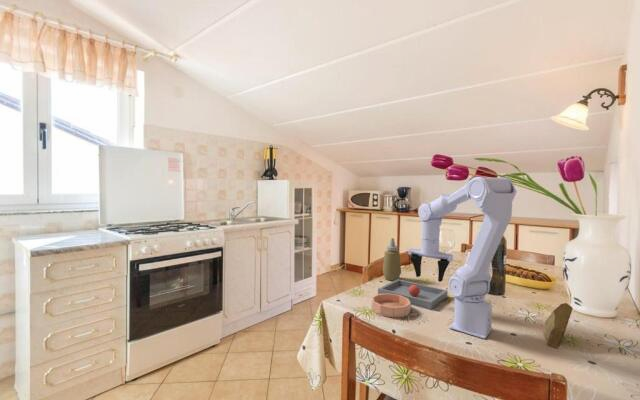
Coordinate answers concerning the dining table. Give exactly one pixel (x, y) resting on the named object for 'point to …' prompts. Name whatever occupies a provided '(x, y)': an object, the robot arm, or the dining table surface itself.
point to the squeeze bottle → (392, 262)
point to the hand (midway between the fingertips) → (429, 278)
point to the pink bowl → (391, 305)
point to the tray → (425, 298)
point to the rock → (557, 324)
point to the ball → (414, 290)
